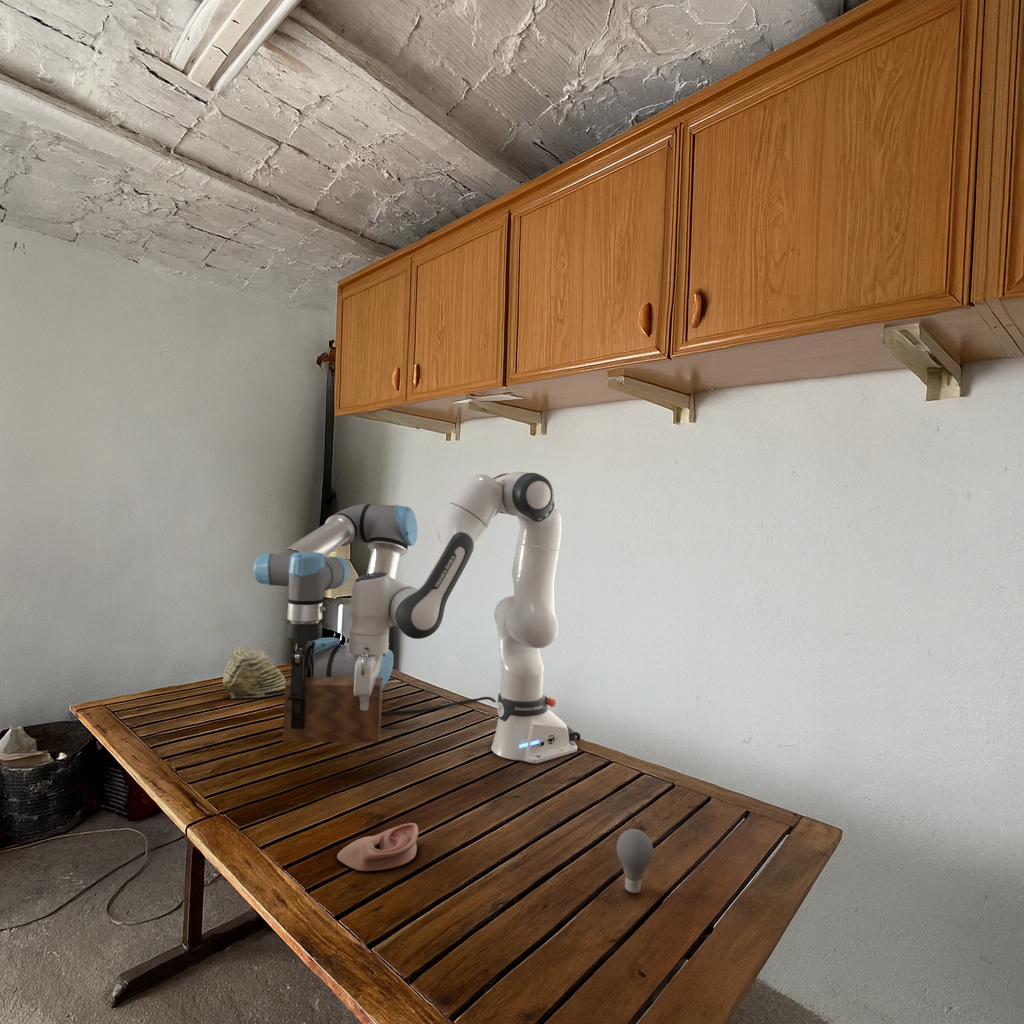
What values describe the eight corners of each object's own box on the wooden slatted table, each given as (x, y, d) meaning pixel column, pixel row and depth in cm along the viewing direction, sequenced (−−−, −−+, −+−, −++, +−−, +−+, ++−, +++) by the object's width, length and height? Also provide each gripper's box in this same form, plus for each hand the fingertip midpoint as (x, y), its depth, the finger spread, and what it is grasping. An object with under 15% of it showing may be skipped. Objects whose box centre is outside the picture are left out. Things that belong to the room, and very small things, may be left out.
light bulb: (610, 879, 108) (613, 822, 108) (644, 879, 109) (647, 822, 109) (619, 902, 102) (622, 840, 102) (655, 901, 103) (658, 840, 103)
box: (282, 742, 140) (285, 684, 140) (289, 732, 146) (291, 676, 146) (377, 742, 142) (380, 685, 142) (380, 732, 148) (382, 677, 148)
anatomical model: (329, 843, 109) (358, 811, 120) (328, 865, 109) (357, 832, 120) (402, 855, 106) (425, 821, 117) (401, 878, 106) (424, 842, 117)
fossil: (218, 695, 195) (220, 647, 195) (278, 685, 208) (279, 640, 207) (228, 703, 189) (230, 653, 188) (289, 692, 201) (290, 645, 201)
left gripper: (313, 630, 134) (309, 738, 134) (329, 613, 153) (325, 708, 153) (276, 629, 133) (272, 738, 133) (297, 612, 152) (293, 708, 152)
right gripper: (378, 655, 135) (375, 719, 135) (386, 634, 155) (384, 690, 155) (348, 654, 134) (345, 719, 134) (360, 634, 154) (358, 690, 154)
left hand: (301, 722), depth 143 cm, fingers closed on box, 6 cm apart
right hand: (366, 704), depth 145 cm, fingers closed on box, 6 cm apart
